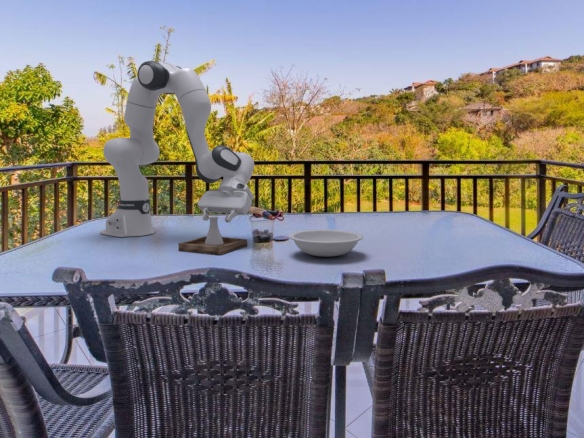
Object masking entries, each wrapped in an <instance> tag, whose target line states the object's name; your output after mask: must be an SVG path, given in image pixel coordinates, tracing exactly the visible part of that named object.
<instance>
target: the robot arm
mask: <svg viewBox="0 0 584 438" xmlns="http://www.w3.org/2000/svg"><path fill="white" fill-rule="evenodd" d="M162 94H165V95H175V97H176V99H177V102H178V103H179V107H180V109H181V112H182V115H183V120H184V127H185V131H186V135H187V137H188V142H189V145H190V148H191V150H192V154H193V158H194V161H195V173H196V176H197V177H198V178H199V179H200V180H202V181H203V182H204V183H207V184H215V183H217V182H218V181H219V180H220V179H221V178H222V177H223V179H222V180H221V182H220V184H219V186H218V188H217V189H212V188H211V189H209V190H207V191H205V192H204V194H203V195H202V196H201V197H200V198H199V200H198V203H197V207H198V208H199V210H200V211H201V212H203V215H202V220H203V221H209V220H210V219H209V217H210V215H208V214H210V213H221V214H223V213H224V214H228V215H225V218H224V221H225V223H231V222H232V220H233V219H235V217H236V216H238V215H246V214H248V212H250V209H251V207H252V204H253V200H254V194H253V192H252V190H251V189H250V187H249V185H247V184H248V183H249V182H250V179H251V177H252V176H253V172H254V169H255V162H254V161H255V160H254V159H253V158H252V156H251V155H249V154H248V153H246V152H244V151H243V152H238V151H234V150H232V149H231V148H230V147H228V146H226V145H223V144H221V145H217V146H214V147H213V149H211V150H210V148H209V145H208V142H207V139H206V136H205V135H206V134H205V131H206V125H207V122H208V121H209V117H210V115H211V112H212V104H211V99H210V96H209V94H208V92H207V89H206V88H205V85H204V83H203V82H202V80H201V79H200V77H199V75H198V74H197V72H196V71H195V70H194V69H193V68H190V67H181V66H179V65H174V64H171V63H168V62H159V61H157V60H147V61H144V62H142V63H141V64H140V65H139V67H138V69H137V76H136V77H134V78H133V80H132V83H131V86H130V89H129V92H128V96H127V99H126V100H127V101H126V104H125V110H124V116H123V120H124V123H125V124H126V126H127V127H128V128H129V137H117V138H116V137H115V138H111V139H109V140H107V141H106V142H105V144H104V146H103V151H102V152H103V156H104V159H105V160H106V162H107V163H108V164H110V165H111V166H112V169H114V171H115V173H116V176H117V179H118V184H119V194H120V200H119V201H115V205H116V206H117V209H115V211H114V212H113V213H112V214H111V215H110V216H108V217H107V218H106V220H105V229H102V230H100V231H99V234H100V235H105V236H112V237H116V238H117V237H118V238H124V237H126V238H127V237H142V236H149V235H153V234H155V229H154V226H153V223H152V215H151V199H150V198H149V197H150V193H149V192H150V191H149V181H148V179H147V178H146V177H145V175H143V174H142V172H141V169H140V166H146V165H151V164H152V163H155V162H157V160H158V159H159V157H160V154H161V153H160V147H159V145H158V143H157V142H156V141H155V136H154V122H155V121H154V120H155V115H156V110H157V109H156V108H157V103H158V99H159V97H160V96H161V95H162Z"/></svg>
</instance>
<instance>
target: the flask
mask: <svg viewBox="0 0 584 438" xmlns="http://www.w3.org/2000/svg"><path fill="white" fill-rule="evenodd" d="M208 220H209V227H208V230H207V231H208V232H207V235H206V236H207V238H206V241H205V244H204V245H205V246H215V247H219V246H223V245H224V242H223V239H222V237H223V236H222V235H221V234H222V233H221V231H220V229H219V224H218V220H219V216H209V219H208Z"/></svg>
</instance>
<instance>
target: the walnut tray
mask: <svg viewBox="0 0 584 438" xmlns="http://www.w3.org/2000/svg"><path fill="white" fill-rule="evenodd" d="M221 237H222V239H223V242H224V245H223V246H219V247H215V246H205V245H204V244H205V241H206V238H207V235H206V236H202V237H198V238H194V239H190V240H186V241H182V242H179V243H178V251H179V252H186V253H196V254H204V253H207V254H206V255H213V254H215V256H222V255H226V254H229V253H231V252H234V251H237V250H240V249H243V248H246V247H248V239H247V238H235V237H226V236H225V237H224V236H221Z"/></svg>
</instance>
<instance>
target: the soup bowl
mask: <svg viewBox="0 0 584 438" xmlns="http://www.w3.org/2000/svg"><path fill="white" fill-rule="evenodd" d="M288 238H289V239H291V240H292V241H293V242H294V244H295V245H296V247H298V249H299V250H301V251H302V252H303V253H305V254H308V255H311V256H315V257H323V258H324V257H328V258H329V257H338V256H343V255H345V254H348V253H349V252H351V251H352V250H353V249H354V248H355V247H356V246H357V244H358V242H359V241H361V240H363V239H364V236H363V234H361V233H358V232H355V231H349V230H342V229H341V230H340V229H307V230H299V231H294V232H292V233H290V234H288Z"/></svg>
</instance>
